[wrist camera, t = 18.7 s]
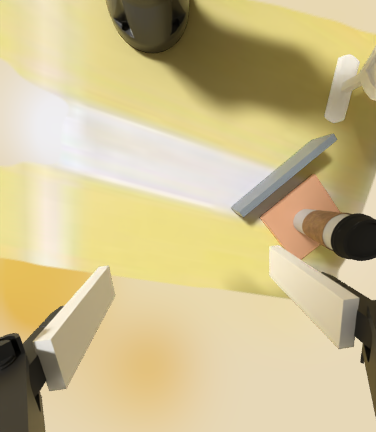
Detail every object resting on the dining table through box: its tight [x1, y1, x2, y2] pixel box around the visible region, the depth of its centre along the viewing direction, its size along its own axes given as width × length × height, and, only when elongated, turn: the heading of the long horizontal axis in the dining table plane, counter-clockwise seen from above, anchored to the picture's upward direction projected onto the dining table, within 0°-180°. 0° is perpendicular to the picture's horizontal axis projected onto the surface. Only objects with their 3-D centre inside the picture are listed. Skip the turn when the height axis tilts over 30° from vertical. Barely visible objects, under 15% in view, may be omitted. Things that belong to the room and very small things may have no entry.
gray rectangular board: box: [231, 134, 337, 217], centre depth 39 cm, size 2×24×6 cm, turn 131°
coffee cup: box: [293, 209, 376, 261], centre depth 36 cm, size 8×8×15 cm
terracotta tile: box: [260, 174, 340, 260], centre depth 44 cm, size 16×16×1 cm
